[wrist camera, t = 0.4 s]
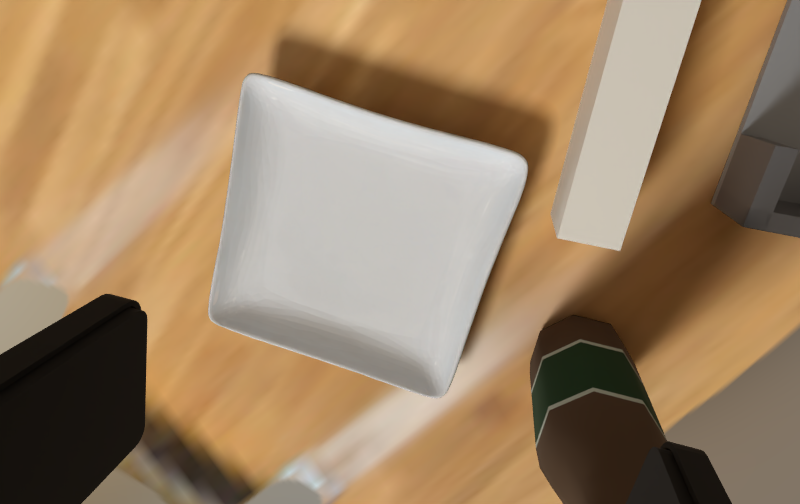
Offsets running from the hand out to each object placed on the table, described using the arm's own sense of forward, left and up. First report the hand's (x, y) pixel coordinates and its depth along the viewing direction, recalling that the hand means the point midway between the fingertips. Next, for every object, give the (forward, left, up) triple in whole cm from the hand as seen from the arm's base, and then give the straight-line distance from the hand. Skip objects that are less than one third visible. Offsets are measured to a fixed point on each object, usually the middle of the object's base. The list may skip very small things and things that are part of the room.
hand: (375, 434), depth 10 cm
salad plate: (+9, -7, -33) cm, 35 cm away
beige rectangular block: (-4, +9, -33) cm, 34 cm away
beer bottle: (+15, +12, -33) cm, 38 cm away
